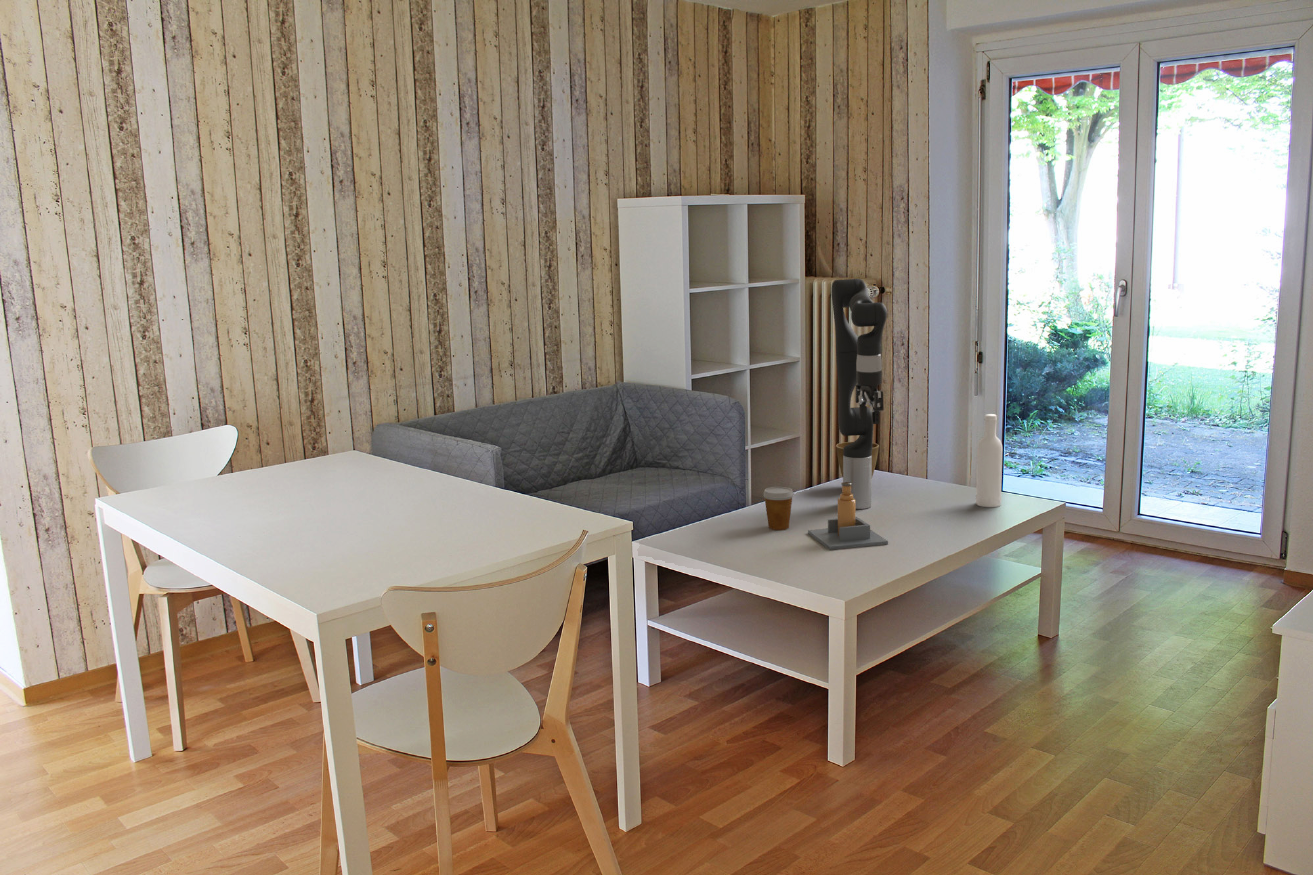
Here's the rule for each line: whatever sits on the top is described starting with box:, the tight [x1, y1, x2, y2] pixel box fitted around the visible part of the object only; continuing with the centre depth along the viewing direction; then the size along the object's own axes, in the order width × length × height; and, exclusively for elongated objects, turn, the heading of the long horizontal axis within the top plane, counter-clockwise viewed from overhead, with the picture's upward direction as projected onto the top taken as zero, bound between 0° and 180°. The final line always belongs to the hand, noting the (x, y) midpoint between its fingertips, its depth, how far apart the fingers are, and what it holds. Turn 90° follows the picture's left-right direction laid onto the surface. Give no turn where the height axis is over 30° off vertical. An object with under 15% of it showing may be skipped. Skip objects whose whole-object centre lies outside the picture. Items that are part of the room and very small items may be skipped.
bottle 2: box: [975, 413, 1004, 508], centre depth 334 cm, size 8×8×30 cm
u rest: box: [807, 516, 889, 551], centre depth 304 cm, size 18×18×5 cm
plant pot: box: [835, 441, 880, 478], centre depth 362 cm, size 15×15×16 cm
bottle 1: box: [837, 481, 857, 536], centre depth 302 cm, size 5×5×16 cm
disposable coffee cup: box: [762, 486, 795, 531], centre depth 317 cm, size 10×10×12 cm
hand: (869, 420), depth 313 cm, fingers open, 8 cm apart
